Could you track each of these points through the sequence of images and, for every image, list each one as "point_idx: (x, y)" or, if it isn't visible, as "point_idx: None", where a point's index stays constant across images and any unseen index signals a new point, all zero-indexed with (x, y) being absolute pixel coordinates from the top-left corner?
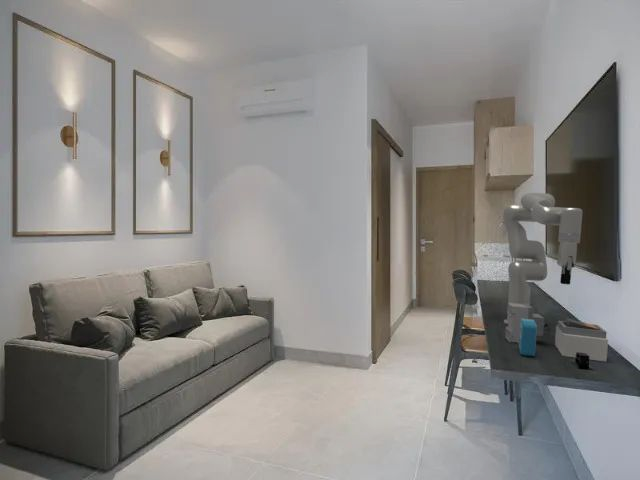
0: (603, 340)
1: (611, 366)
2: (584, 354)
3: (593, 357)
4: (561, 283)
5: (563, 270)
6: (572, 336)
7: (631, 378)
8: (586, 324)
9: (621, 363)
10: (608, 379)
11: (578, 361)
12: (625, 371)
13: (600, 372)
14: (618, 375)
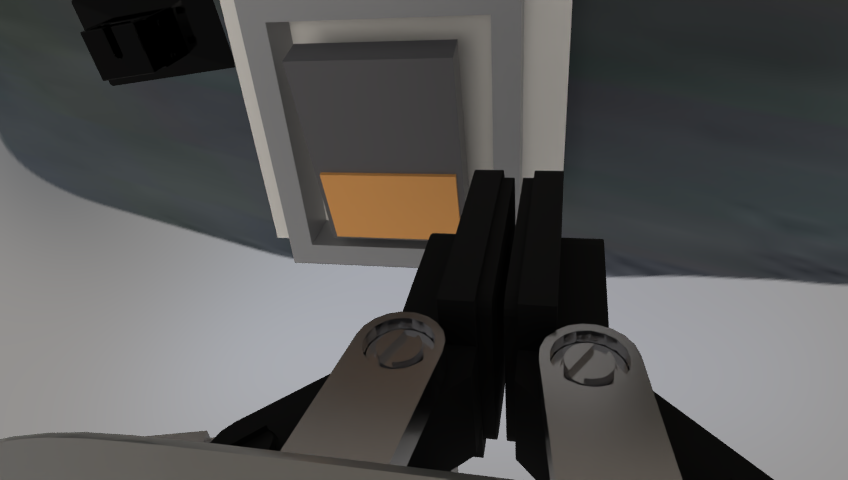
0: (275, 213)
1: (248, 174)
2: (116, 61)
3: None
4: (476, 171)
5: (335, 395)
6: (232, 40)
7: (118, 201)
8: (377, 187)
9: None
10: (21, 107)
11: (169, 24)
12: (208, 209)
13: (100, 99)
14: (119, 164)
